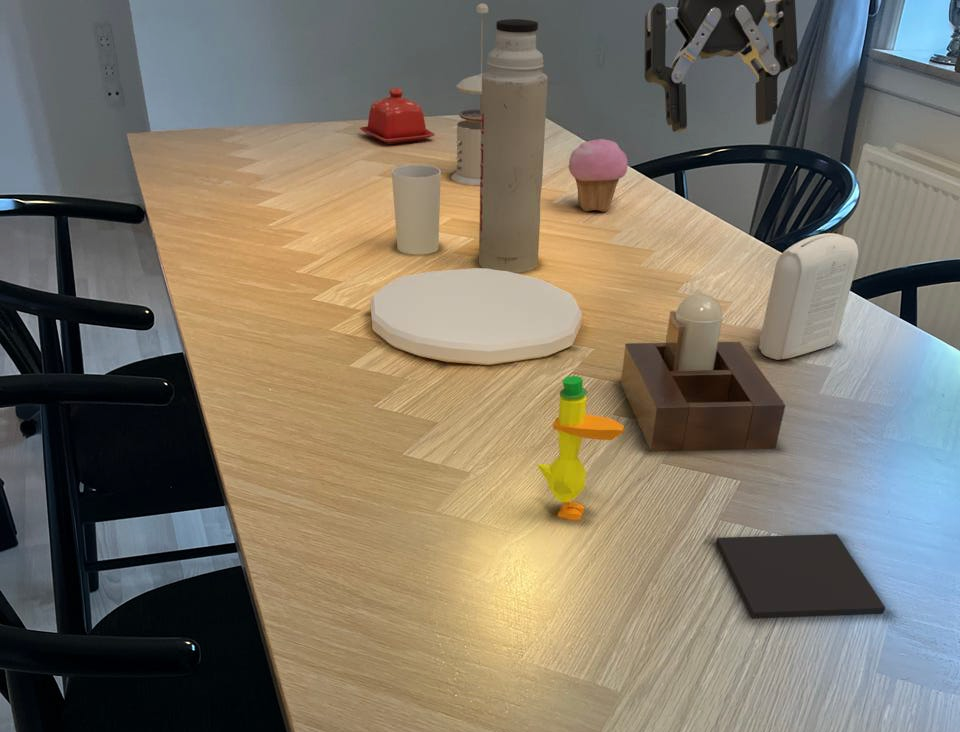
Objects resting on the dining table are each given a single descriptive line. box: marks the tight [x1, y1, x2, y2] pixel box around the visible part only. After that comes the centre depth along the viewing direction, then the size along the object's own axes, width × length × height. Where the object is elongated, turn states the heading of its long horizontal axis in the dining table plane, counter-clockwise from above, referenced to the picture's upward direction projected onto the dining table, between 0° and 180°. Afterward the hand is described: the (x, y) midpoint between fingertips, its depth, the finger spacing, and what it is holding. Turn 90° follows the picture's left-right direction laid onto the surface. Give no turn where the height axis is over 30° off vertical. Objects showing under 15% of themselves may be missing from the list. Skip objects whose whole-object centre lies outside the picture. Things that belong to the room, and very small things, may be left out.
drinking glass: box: [391, 164, 442, 255], centre depth 133 cm, size 7×7×10 cm
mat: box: [715, 533, 886, 619], centre depth 76 cm, size 10×10×1 cm
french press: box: [450, 3, 489, 186], centre depth 159 cm, size 10×12×25 cm
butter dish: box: [359, 87, 436, 145], centre depth 185 cm, size 12×12×8 cm
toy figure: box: [536, 375, 625, 521], centre depth 79 cm, size 7×4×12 cm, turn 76°
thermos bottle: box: [478, 18, 549, 274], centre depth 123 cm, size 8×8×28 cm
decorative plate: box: [370, 267, 583, 366], centre depth 114 cm, size 25×4×25 cm
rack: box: [620, 341, 786, 453], centre depth 96 cm, size 12×15×4 cm
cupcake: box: [568, 138, 628, 213], centre depth 149 cm, size 9×9×10 cm
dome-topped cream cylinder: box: [663, 293, 724, 371], centre depth 97 cm, size 5×4×11 cm
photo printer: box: [758, 232, 859, 361], centre depth 107 cm, size 10×4×12 cm, turn 125°
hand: (722, 126), depth 94 cm, fingers open, 8 cm apart
